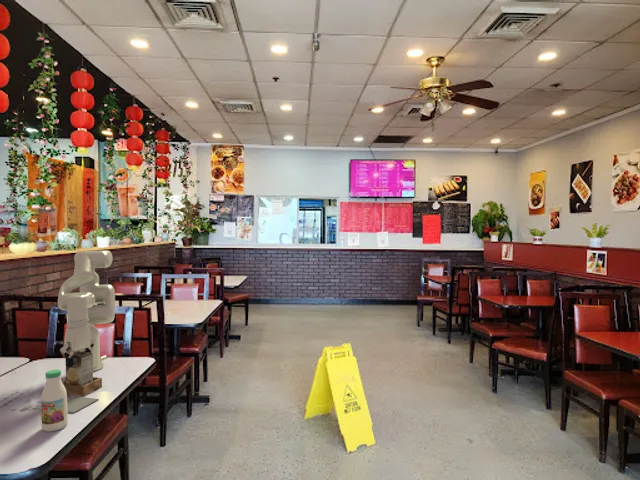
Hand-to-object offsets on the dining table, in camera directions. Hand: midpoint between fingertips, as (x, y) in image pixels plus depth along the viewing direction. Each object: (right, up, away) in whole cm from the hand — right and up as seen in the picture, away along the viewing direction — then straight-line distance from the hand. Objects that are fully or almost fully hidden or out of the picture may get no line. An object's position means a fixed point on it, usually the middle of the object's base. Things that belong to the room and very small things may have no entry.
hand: (78, 363), depth 177 cm
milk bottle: (+10, -13, -31) cm, 36 cm away
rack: (0, -12, +1) cm, 12 cm away
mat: (+6, -13, -14) cm, 20 cm away
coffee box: (0, -12, +1) cm, 12 cm away
